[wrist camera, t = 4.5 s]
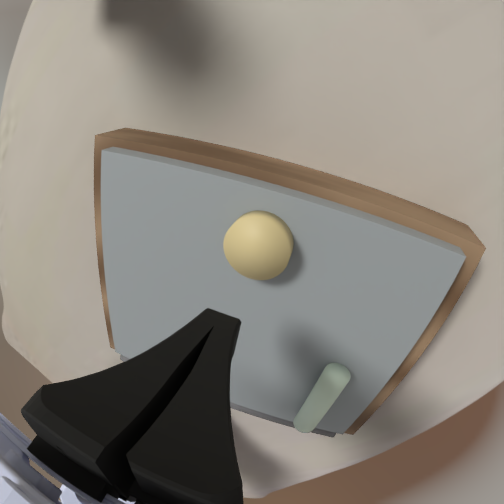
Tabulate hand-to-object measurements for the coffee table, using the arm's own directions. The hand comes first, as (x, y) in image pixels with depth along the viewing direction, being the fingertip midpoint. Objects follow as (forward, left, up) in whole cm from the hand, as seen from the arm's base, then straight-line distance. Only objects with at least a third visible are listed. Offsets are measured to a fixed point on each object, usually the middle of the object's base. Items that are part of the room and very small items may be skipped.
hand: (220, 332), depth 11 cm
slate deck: (-4, 0, -6) cm, 7 cm away
